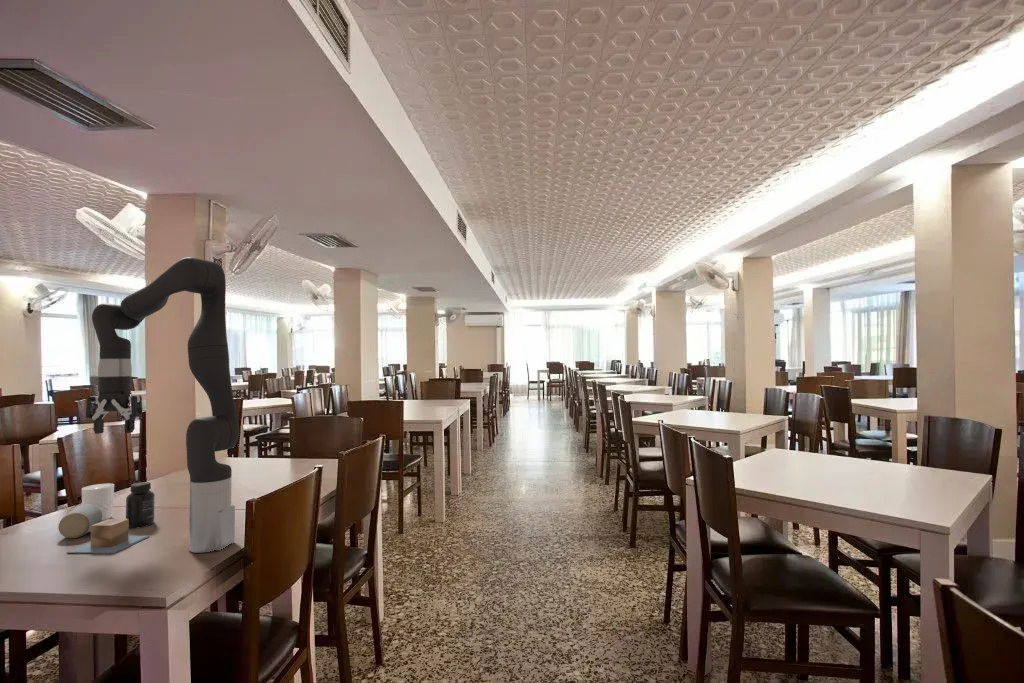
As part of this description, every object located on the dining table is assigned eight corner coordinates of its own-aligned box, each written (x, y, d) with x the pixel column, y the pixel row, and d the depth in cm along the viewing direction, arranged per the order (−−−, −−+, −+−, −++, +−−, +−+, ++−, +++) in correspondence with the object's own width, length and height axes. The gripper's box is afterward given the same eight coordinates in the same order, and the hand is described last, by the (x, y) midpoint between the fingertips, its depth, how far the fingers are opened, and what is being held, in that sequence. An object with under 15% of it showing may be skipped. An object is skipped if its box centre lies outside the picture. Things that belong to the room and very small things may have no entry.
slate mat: (149, 537, 139) (149, 535, 139) (113, 553, 127) (113, 551, 127) (106, 537, 139) (106, 535, 139) (66, 553, 127) (66, 552, 127)
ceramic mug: (55, 541, 136) (56, 512, 137) (69, 532, 144) (70, 504, 145) (103, 536, 140) (104, 508, 141) (114, 528, 148) (115, 501, 148)
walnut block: (128, 539, 135) (128, 518, 136) (111, 547, 130) (111, 525, 130) (108, 539, 136) (108, 519, 136) (90, 547, 130) (91, 525, 130)
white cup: (99, 523, 152) (100, 489, 153) (73, 523, 152) (74, 489, 153) (120, 515, 160) (120, 483, 161) (95, 515, 160) (96, 483, 161)
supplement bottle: (154, 519, 155) (155, 480, 155) (153, 525, 149) (154, 484, 149) (126, 524, 151) (127, 483, 152) (124, 530, 145) (125, 487, 146)
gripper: (149, 374, 147) (148, 431, 146) (101, 375, 147) (100, 431, 146) (129, 375, 139) (128, 434, 138) (78, 375, 139) (77, 435, 139)
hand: (114, 433), depth 142 cm, fingers open, 8 cm apart
